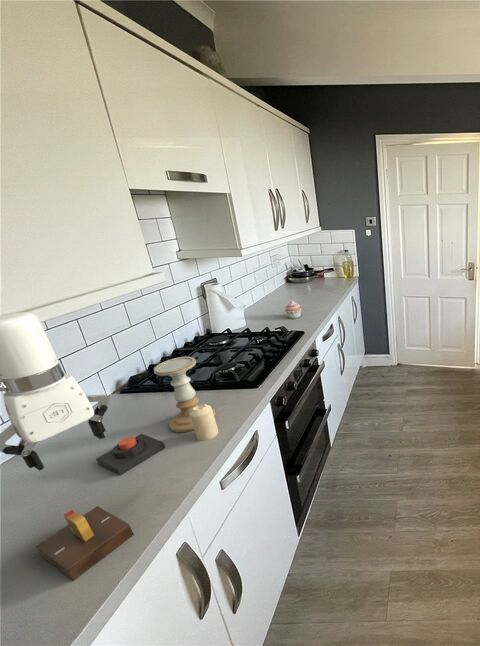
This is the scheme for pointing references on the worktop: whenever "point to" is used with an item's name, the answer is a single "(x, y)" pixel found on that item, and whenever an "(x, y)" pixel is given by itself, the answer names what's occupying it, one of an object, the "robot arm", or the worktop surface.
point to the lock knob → (78, 525)
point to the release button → (127, 443)
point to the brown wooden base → (85, 543)
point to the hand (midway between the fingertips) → (71, 451)
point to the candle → (203, 422)
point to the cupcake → (293, 310)
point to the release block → (130, 455)
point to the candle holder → (180, 391)
